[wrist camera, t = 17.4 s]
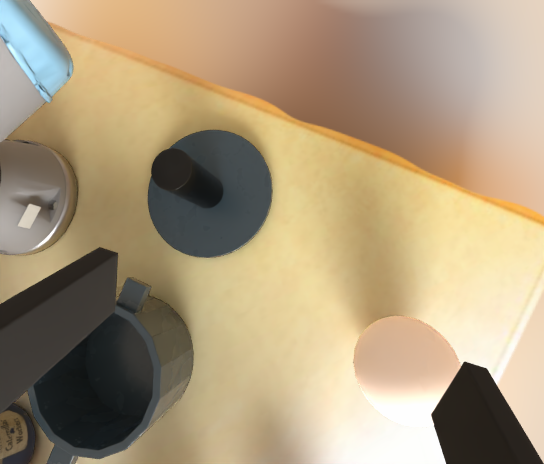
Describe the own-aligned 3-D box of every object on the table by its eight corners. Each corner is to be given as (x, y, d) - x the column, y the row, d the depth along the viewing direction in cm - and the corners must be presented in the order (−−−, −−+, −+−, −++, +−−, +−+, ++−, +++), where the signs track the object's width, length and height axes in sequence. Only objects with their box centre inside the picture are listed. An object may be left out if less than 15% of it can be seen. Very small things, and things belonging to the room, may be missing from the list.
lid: (133, 229, 40) (69, 216, 30) (182, 118, 41) (135, 69, 31) (242, 278, 37) (211, 282, 27) (293, 157, 37) (281, 117, 27)
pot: (56, 405, 39) (-7, 436, 32) (121, 256, 40) (74, 254, 32) (153, 465, 36) (110, 516, 29) (221, 304, 37) (195, 313, 30)
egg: (333, 359, 34) (337, 405, 23) (377, 293, 34) (402, 305, 23) (405, 411, 32) (448, 488, 21) (451, 341, 32) (518, 380, 21)
